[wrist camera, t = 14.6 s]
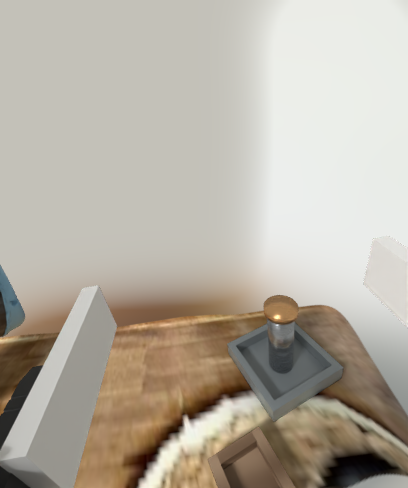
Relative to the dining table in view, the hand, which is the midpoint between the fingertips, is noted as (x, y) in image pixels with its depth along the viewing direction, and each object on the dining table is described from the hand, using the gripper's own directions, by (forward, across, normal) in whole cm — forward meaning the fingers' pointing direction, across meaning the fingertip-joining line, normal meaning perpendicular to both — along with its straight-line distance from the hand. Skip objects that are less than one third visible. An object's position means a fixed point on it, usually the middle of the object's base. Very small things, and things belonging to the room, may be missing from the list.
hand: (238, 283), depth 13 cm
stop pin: (+15, +8, -29) cm, 34 cm away
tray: (+15, +8, -30) cm, 34 cm away
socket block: (+1, 0, -30) cm, 30 cm away
